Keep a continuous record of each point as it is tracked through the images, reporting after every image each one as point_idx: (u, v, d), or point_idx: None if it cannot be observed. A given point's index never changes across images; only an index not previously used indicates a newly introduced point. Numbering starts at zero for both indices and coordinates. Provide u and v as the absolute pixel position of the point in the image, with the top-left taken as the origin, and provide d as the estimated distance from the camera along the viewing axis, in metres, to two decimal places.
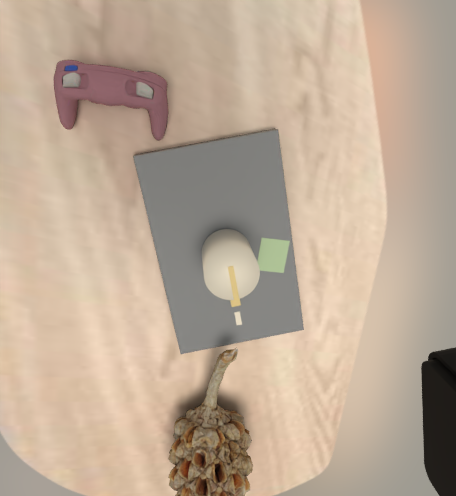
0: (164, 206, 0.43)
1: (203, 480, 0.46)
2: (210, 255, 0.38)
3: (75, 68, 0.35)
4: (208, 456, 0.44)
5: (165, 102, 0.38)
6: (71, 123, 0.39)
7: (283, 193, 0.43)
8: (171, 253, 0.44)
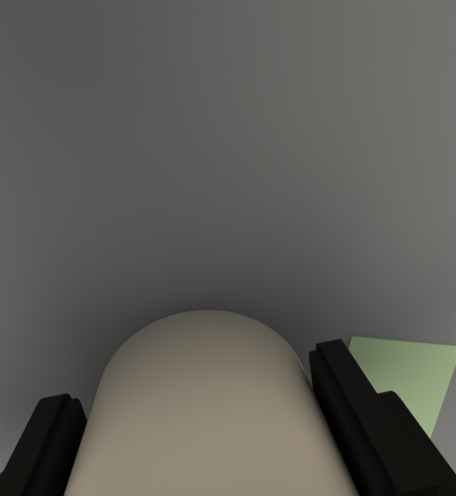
0: None
1: None
2: None
3: None
4: None
5: None
6: None
7: None
8: None
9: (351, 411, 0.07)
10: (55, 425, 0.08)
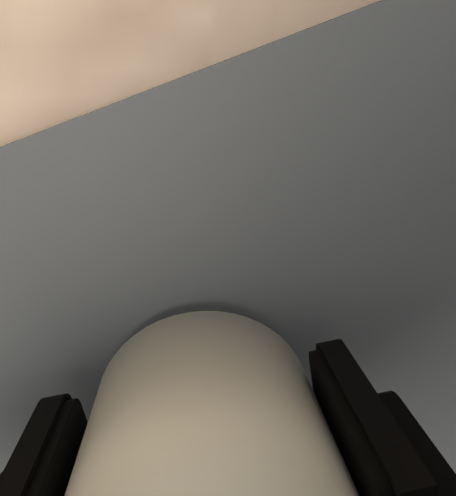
0: (371, 104, 0.09)
1: None
2: None
3: None
4: None
5: None
6: None
7: None
8: (147, 172, 0.09)
9: (351, 411, 0.07)
10: (55, 425, 0.08)
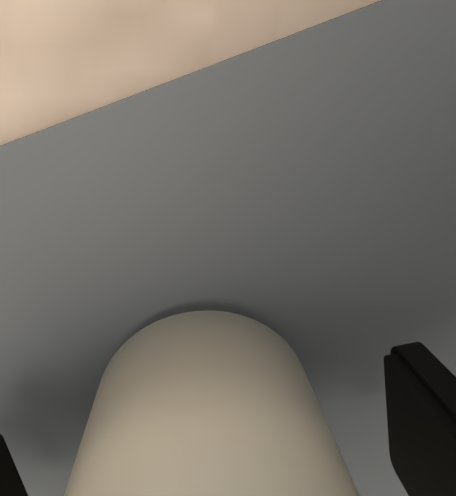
0: (371, 104, 0.09)
1: None
2: None
3: None
4: None
5: None
6: None
7: None
8: (147, 172, 0.09)
9: (455, 421, 0.07)
10: None
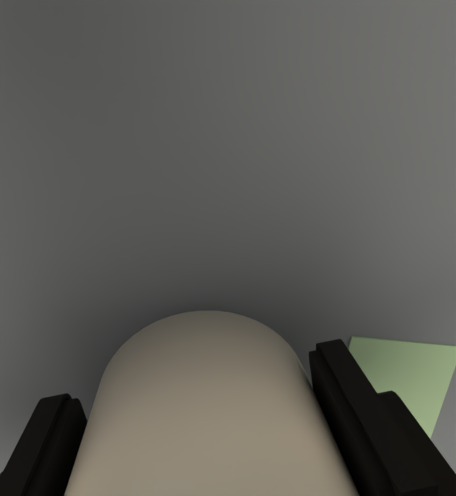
0: None
1: None
2: None
3: None
4: None
5: None
6: None
7: None
8: None
9: (351, 411, 0.07)
10: (55, 425, 0.08)
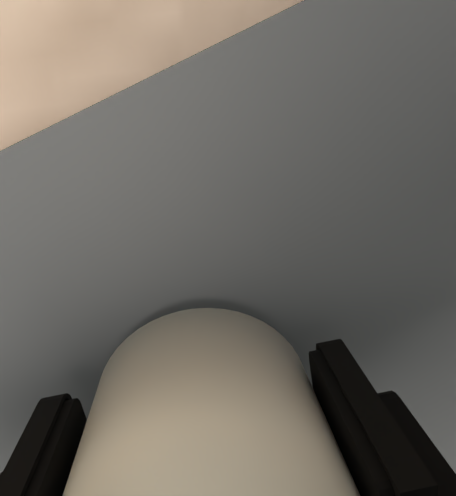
0: (344, 87, 0.09)
1: None
2: None
3: None
4: None
5: None
6: None
7: None
8: (125, 175, 0.09)
9: (351, 411, 0.07)
10: (55, 425, 0.08)
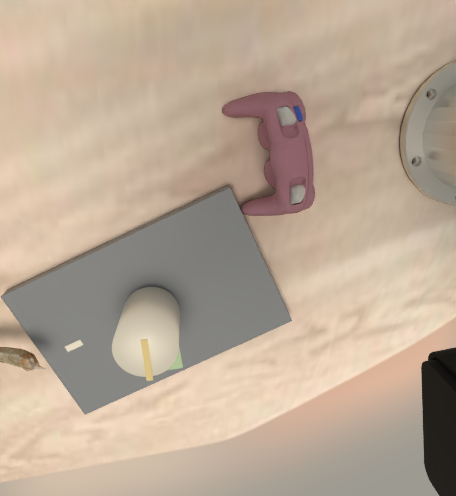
0: (183, 232, 0.37)
1: None
2: (122, 323, 0.32)
3: (299, 118, 0.32)
4: None
5: (287, 213, 0.35)
6: (231, 115, 0.34)
7: (231, 345, 0.41)
8: (130, 254, 0.37)
9: None
10: None
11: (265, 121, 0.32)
